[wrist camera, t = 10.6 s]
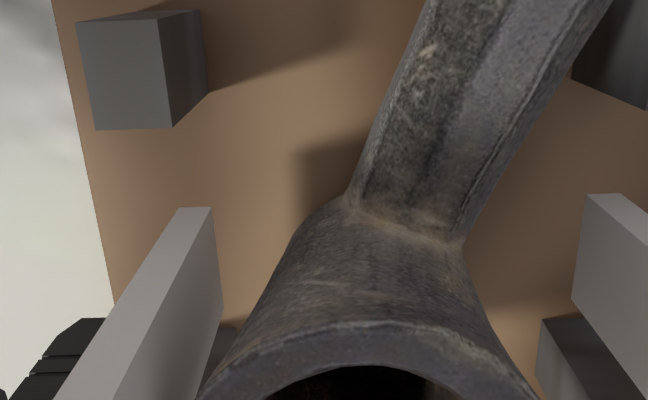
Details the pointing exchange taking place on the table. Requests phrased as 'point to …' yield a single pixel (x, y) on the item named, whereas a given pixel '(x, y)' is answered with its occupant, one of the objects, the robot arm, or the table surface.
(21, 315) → the table surface
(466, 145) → the pipe
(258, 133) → the collar cradle
